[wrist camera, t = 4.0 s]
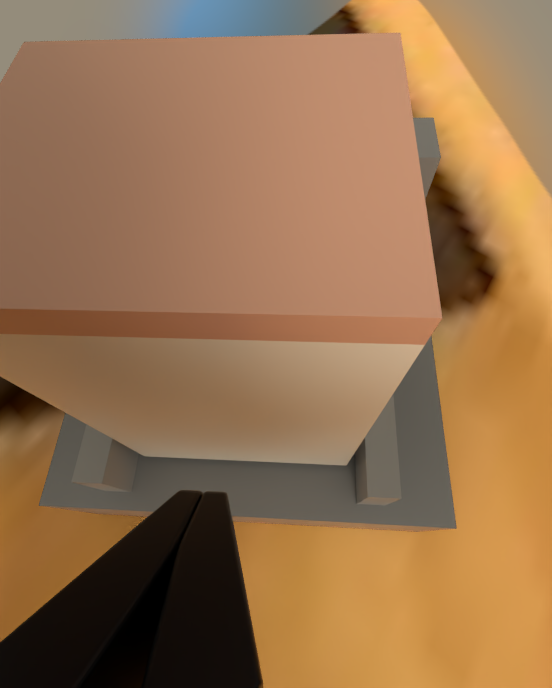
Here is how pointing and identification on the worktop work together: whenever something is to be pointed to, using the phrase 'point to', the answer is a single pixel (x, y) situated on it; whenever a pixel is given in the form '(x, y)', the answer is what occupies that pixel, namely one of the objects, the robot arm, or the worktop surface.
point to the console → (286, 478)
